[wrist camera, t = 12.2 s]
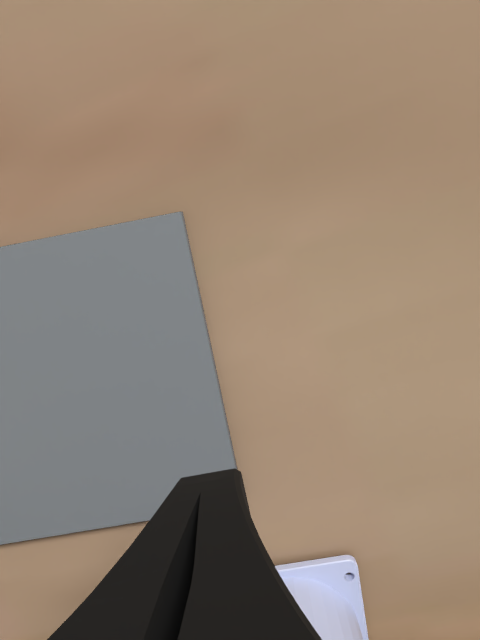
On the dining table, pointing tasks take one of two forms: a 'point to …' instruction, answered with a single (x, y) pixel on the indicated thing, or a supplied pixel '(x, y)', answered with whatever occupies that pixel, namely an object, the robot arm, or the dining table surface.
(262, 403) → the dining table surface
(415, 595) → the dining table surface
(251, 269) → the dining table surface
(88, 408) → the mat
